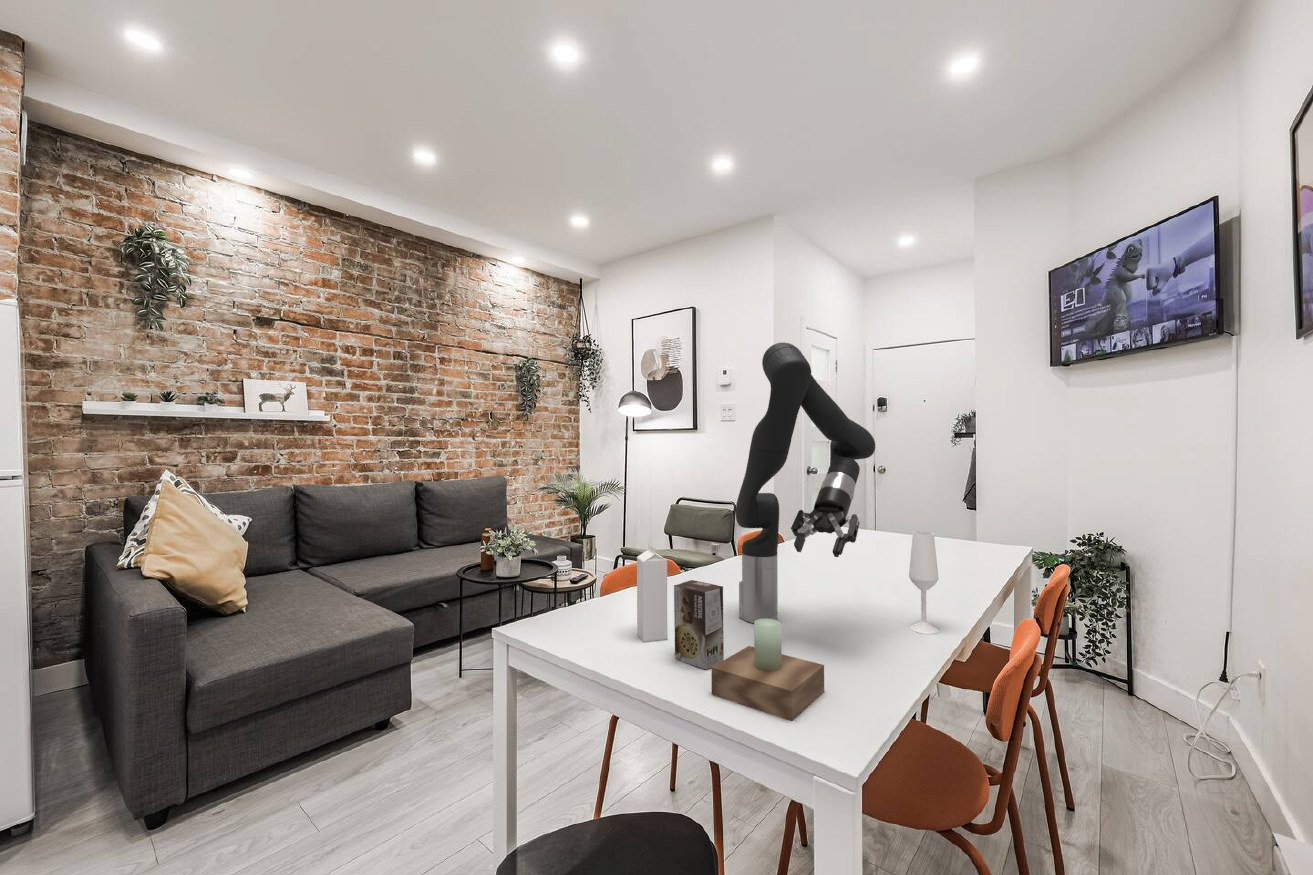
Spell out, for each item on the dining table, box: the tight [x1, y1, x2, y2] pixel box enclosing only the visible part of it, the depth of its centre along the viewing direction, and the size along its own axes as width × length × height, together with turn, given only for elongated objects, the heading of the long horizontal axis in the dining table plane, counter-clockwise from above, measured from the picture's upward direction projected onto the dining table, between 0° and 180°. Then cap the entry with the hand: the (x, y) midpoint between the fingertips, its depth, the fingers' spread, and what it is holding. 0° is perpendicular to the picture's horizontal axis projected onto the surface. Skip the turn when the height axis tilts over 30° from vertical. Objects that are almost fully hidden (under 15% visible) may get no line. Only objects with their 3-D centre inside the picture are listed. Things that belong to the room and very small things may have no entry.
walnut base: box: [711, 645, 825, 722], centre depth 104 cm, size 16×14×5 cm
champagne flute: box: [908, 530, 940, 635], centre depth 140 cm, size 7×7×24 cm
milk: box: [636, 543, 668, 643], centre depth 135 cm, size 6×6×22 cm
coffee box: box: [673, 579, 725, 670], centre depth 120 cm, size 9×6×16 cm
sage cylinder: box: [753, 619, 783, 671], centre depth 105 cm, size 5×5×8 cm
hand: (816, 552), depth 122 cm, fingers open, 8 cm apart
